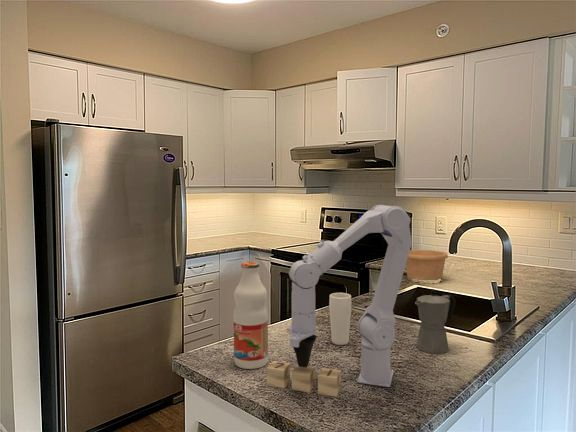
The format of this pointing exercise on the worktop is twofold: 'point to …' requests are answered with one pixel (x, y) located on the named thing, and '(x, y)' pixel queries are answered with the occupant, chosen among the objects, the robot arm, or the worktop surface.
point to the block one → (329, 382)
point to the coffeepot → (434, 322)
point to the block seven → (278, 374)
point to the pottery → (425, 264)
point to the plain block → (303, 378)
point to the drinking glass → (340, 317)
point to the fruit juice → (250, 319)
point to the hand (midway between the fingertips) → (303, 365)
